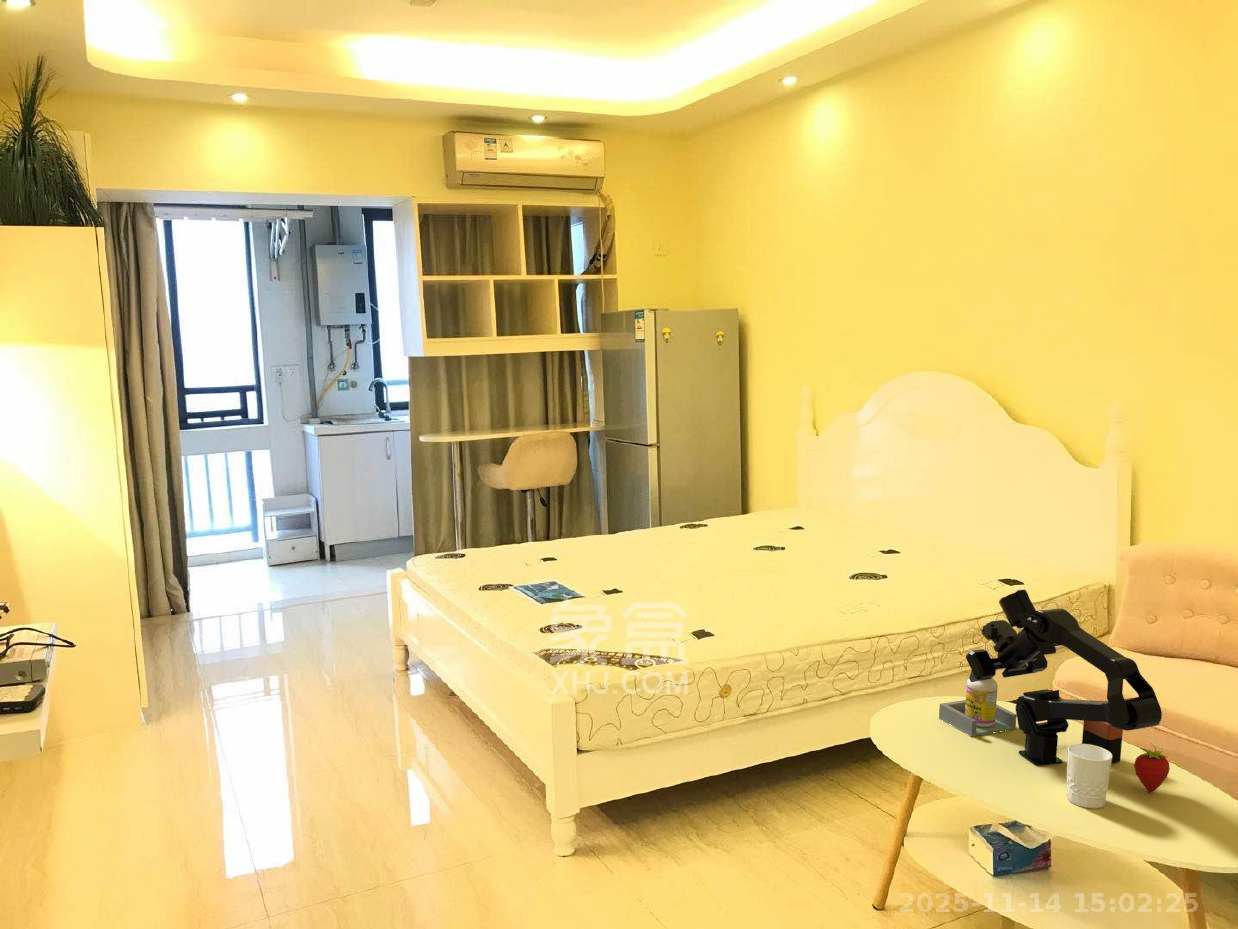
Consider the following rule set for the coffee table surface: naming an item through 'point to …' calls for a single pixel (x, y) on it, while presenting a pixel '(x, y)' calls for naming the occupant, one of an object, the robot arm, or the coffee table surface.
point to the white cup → (1088, 775)
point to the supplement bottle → (982, 701)
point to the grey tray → (958, 719)
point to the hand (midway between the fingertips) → (986, 678)
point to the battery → (1103, 737)
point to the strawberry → (1151, 769)
